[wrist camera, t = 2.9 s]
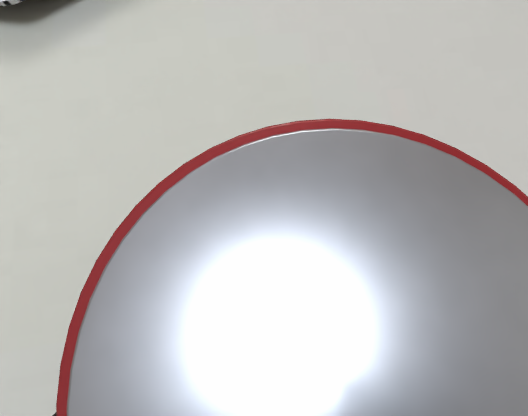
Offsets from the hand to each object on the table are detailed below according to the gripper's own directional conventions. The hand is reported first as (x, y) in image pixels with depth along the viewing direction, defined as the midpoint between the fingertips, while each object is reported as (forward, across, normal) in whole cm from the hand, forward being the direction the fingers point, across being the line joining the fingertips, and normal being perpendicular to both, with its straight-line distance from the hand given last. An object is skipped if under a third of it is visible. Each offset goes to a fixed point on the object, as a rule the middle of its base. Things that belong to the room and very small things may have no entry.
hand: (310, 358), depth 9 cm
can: (+6, 0, +5) cm, 8 cm away
